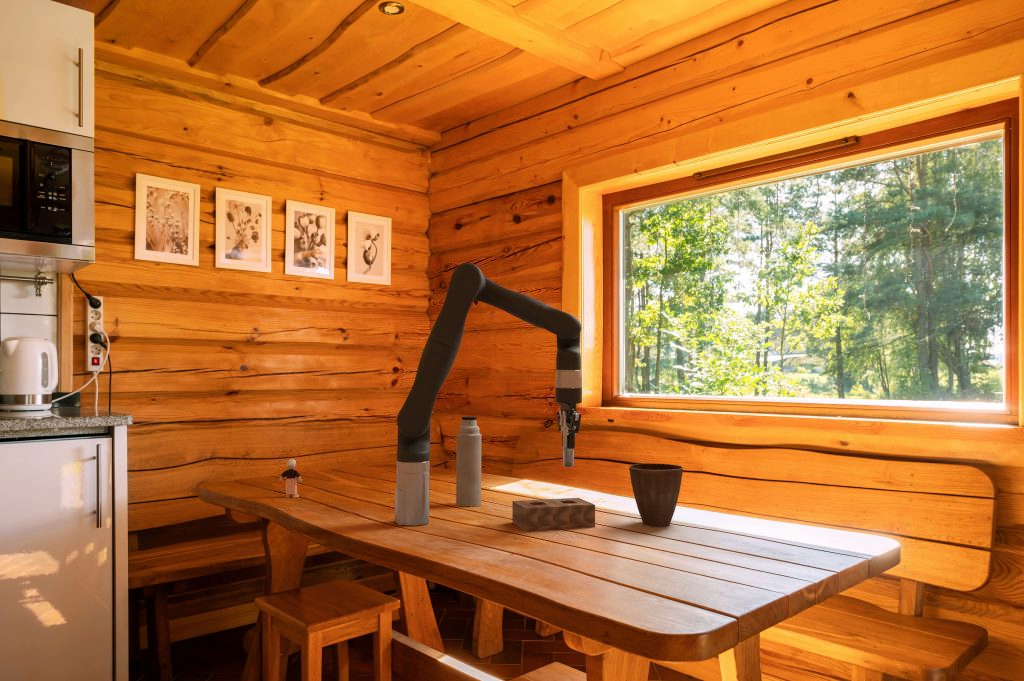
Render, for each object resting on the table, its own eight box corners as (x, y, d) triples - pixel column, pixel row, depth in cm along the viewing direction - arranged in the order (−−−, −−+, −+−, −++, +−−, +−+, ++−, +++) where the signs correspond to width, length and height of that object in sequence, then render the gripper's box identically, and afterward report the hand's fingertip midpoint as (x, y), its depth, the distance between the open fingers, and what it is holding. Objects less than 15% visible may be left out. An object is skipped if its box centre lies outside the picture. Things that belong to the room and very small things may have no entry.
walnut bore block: (525, 531, 200) (525, 507, 200) (512, 522, 211) (512, 500, 212) (595, 526, 206) (595, 504, 206) (578, 518, 217) (578, 497, 218)
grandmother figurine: (303, 495, 255) (303, 458, 256) (300, 497, 251) (301, 459, 252) (280, 496, 255) (280, 458, 255) (277, 497, 251) (278, 459, 252)
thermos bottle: (458, 502, 244) (459, 415, 245) (482, 502, 243) (483, 416, 244) (454, 506, 236) (454, 417, 237) (479, 507, 235) (479, 417, 236)
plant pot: (659, 531, 200) (659, 471, 200) (617, 523, 211) (617, 465, 212) (694, 524, 209) (694, 467, 210) (652, 516, 221) (652, 462, 221)
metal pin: (565, 466, 209) (565, 416, 209) (561, 465, 212) (561, 415, 212) (575, 466, 210) (575, 416, 210) (571, 465, 213) (571, 415, 213)
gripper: (547, 385, 217) (547, 446, 216) (565, 386, 204) (564, 450, 203) (571, 385, 219) (571, 445, 219) (590, 386, 206) (590, 450, 205)
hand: (568, 447), depth 211 cm, fingers closed on metal pin, 3 cm apart
